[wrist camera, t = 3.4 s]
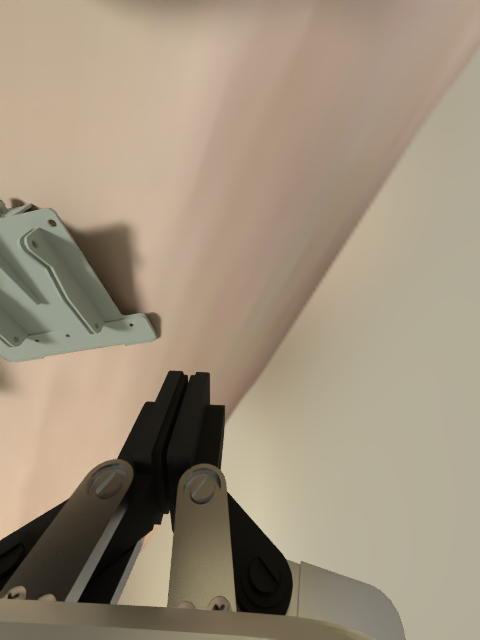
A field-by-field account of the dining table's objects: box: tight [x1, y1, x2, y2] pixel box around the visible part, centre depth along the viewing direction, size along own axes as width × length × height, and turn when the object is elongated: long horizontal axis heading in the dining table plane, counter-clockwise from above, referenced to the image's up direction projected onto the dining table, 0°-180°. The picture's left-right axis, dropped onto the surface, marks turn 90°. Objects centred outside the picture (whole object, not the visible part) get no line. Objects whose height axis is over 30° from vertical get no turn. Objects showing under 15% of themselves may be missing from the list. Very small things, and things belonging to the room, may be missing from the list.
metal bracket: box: [0, 200, 157, 362], centre depth 22 cm, size 14×6×15 cm
